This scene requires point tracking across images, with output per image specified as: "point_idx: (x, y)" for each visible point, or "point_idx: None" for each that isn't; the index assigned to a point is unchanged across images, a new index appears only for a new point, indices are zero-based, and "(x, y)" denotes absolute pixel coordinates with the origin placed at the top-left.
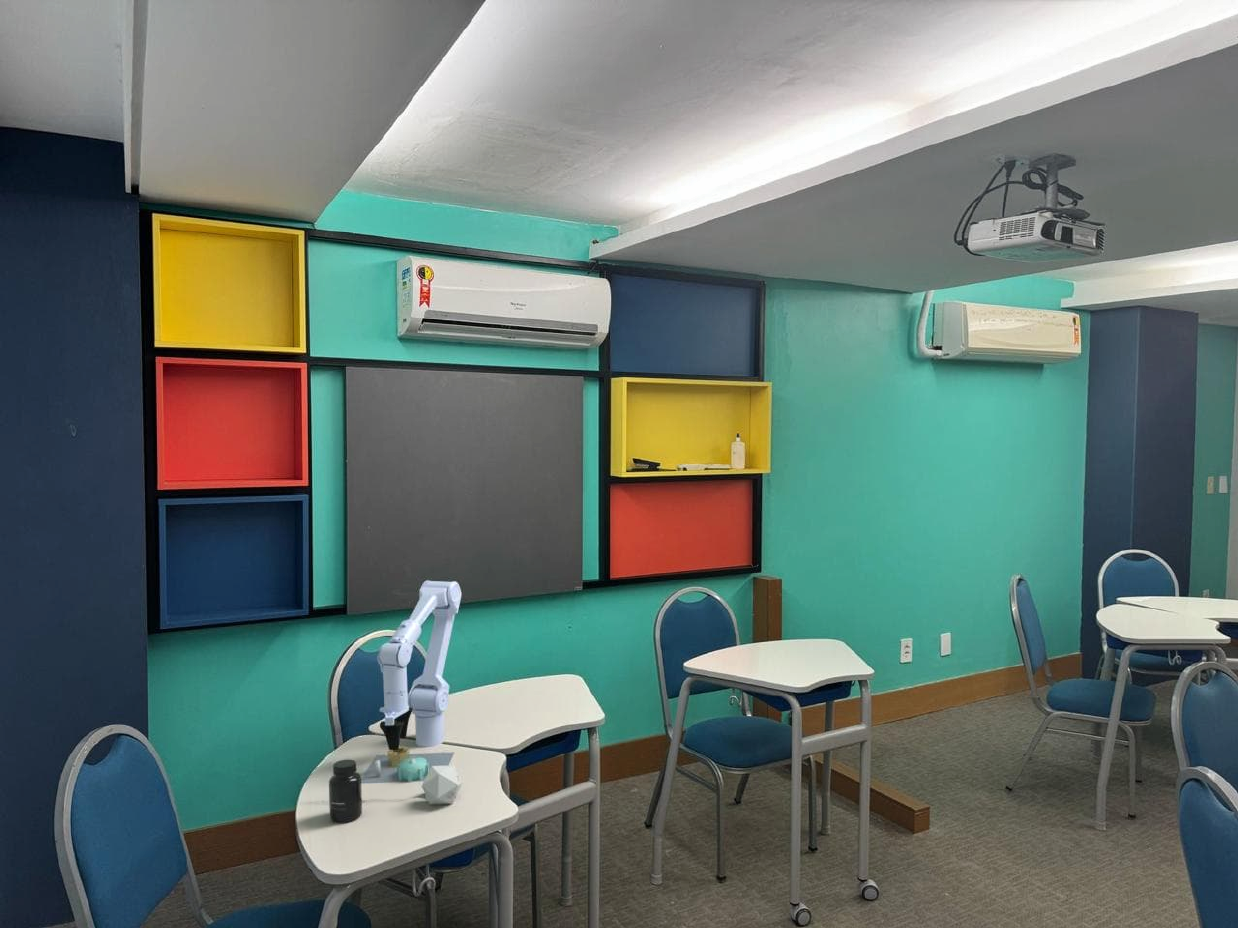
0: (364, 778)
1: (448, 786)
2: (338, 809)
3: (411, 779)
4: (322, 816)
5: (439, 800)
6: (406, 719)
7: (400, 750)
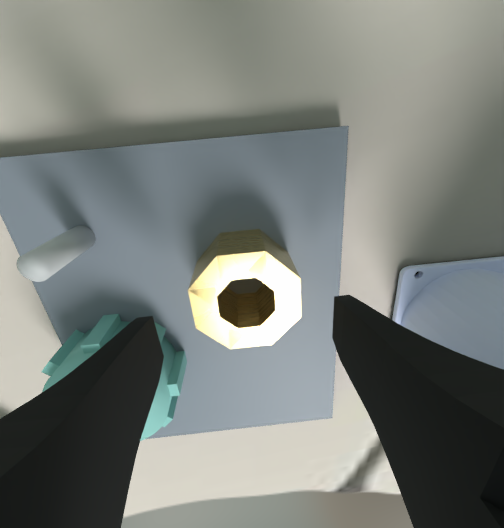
0: (43, 175)
1: None
2: None
3: None
4: None
5: None
6: (398, 470)
7: (273, 298)
